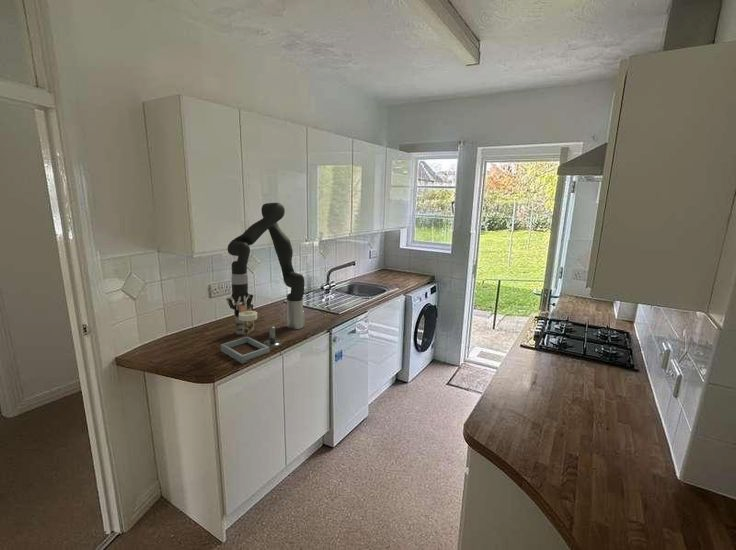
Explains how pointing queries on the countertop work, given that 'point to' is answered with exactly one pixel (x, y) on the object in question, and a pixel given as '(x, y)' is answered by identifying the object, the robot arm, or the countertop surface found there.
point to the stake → (272, 338)
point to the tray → (244, 358)
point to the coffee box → (244, 324)
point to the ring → (246, 314)
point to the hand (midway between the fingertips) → (240, 315)
